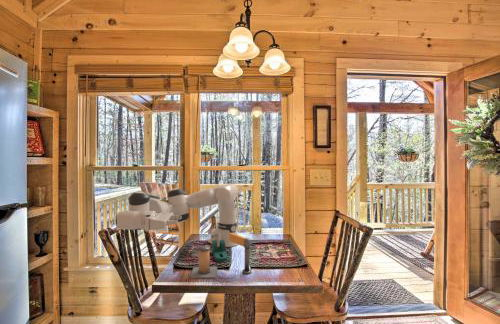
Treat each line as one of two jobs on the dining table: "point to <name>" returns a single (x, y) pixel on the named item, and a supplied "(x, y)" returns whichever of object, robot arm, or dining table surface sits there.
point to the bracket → (219, 251)
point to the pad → (196, 275)
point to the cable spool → (204, 260)
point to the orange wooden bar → (239, 240)
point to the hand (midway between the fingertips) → (179, 219)
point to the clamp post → (247, 262)
